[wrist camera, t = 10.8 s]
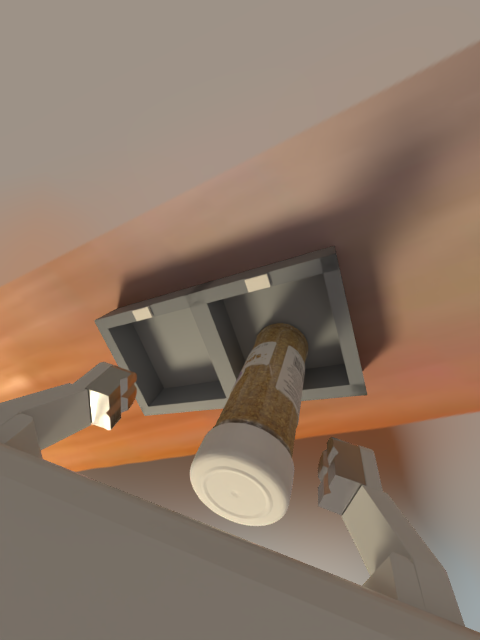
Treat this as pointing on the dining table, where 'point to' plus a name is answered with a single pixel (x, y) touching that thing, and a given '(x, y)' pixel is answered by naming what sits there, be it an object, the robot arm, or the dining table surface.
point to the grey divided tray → (236, 334)
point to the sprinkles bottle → (255, 433)
